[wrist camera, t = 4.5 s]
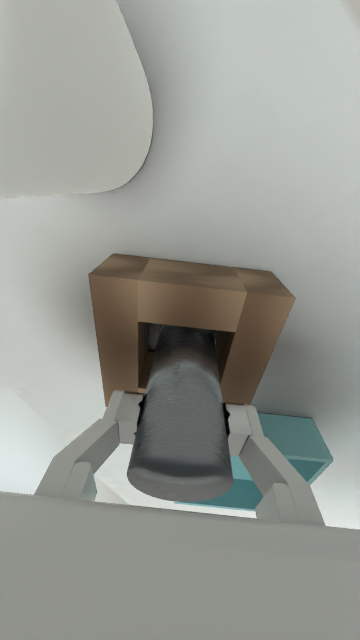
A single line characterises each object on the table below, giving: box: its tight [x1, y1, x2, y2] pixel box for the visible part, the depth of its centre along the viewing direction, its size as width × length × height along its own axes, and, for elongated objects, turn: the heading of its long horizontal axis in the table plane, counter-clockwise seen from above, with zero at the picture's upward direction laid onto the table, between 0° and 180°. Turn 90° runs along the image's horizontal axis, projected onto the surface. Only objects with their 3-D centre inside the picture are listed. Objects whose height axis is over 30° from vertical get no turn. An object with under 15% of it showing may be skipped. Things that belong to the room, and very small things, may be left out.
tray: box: [175, 413, 334, 511], centre depth 24 cm, size 13×13×4 cm
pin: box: [127, 324, 233, 502], centre depth 12 cm, size 4×4×10 cm
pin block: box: [89, 254, 295, 407], centre depth 15 cm, size 11×11×4 cm
